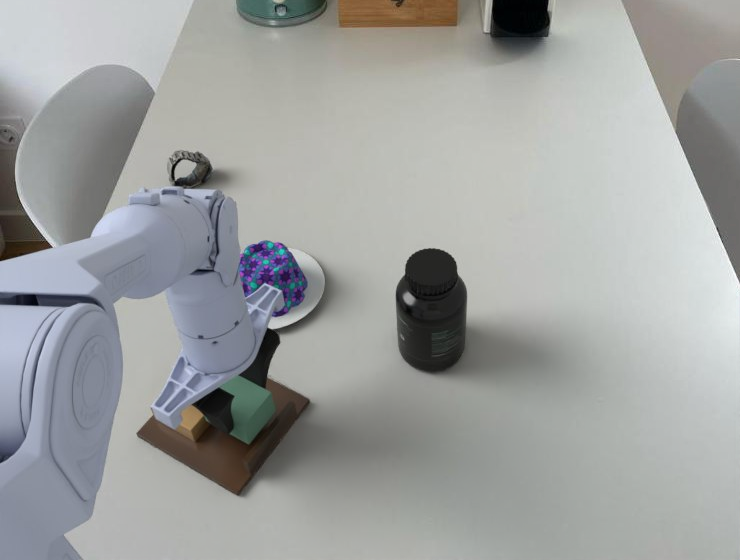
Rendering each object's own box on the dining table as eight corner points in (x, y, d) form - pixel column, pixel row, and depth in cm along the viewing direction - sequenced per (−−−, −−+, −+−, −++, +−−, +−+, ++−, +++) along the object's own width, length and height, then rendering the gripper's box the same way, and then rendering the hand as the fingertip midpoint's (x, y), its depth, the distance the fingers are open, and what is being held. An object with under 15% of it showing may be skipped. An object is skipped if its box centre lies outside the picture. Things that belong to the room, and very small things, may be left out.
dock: (238, 496, 71) (232, 481, 69) (137, 436, 76) (130, 421, 74) (310, 402, 78) (307, 386, 76) (214, 352, 83) (209, 337, 81)
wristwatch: (197, 197, 102) (216, 165, 101) (160, 184, 99) (180, 151, 98) (191, 184, 105) (211, 153, 103) (155, 171, 101) (174, 139, 100)
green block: (249, 445, 72) (243, 426, 70) (205, 420, 74) (199, 402, 72) (276, 410, 74) (271, 392, 72) (233, 388, 76) (228, 369, 74)
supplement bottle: (389, 330, 84) (384, 250, 76) (450, 312, 86) (451, 232, 78) (411, 382, 79) (408, 303, 71) (475, 362, 81) (480, 282, 73)
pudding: (347, 280, 89) (344, 247, 86) (274, 353, 82) (266, 320, 79) (267, 236, 95) (261, 203, 91) (192, 301, 88) (181, 269, 84)
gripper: (229, 236, 70) (253, 333, 79) (106, 356, 61) (149, 450, 70) (295, 265, 67) (312, 362, 77) (177, 395, 58) (212, 488, 68)
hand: (239, 407), depth 73 cm, fingers closed on green block, 4 cm apart
